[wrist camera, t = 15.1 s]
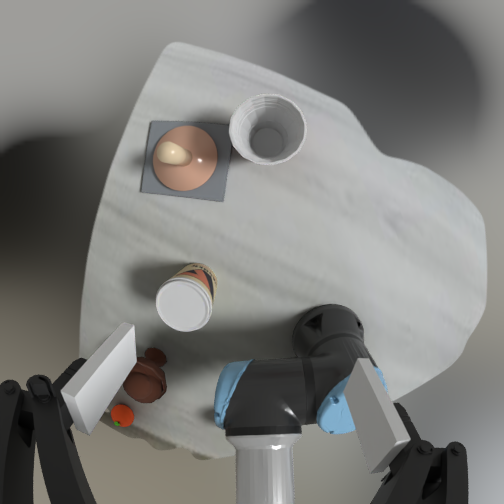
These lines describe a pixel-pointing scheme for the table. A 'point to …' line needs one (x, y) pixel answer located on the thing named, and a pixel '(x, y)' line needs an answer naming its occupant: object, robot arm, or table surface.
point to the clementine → (122, 415)
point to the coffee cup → (187, 298)
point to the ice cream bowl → (147, 377)
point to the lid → (185, 158)
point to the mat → (217, 182)
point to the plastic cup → (268, 129)
